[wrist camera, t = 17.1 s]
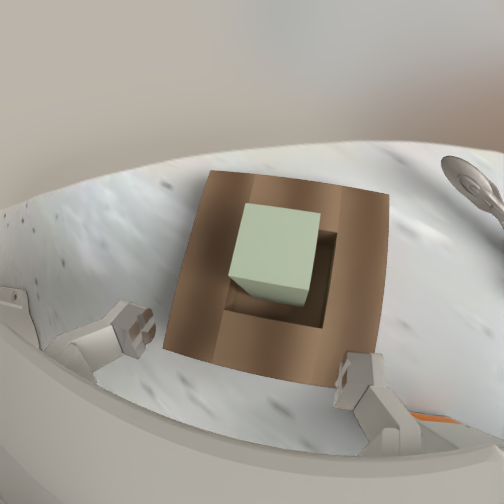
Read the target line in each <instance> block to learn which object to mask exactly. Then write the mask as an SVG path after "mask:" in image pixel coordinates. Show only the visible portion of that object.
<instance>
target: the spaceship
mask: <svg viewBox="0 0 504 504" xmlns="http://www.w3.org/2000/svg"><path fill="white" fill-rule="evenodd" d="M441 167H442V170H443V172H444V174H445V176H446V177H447V178H448V180H449V181H450V182H451V184H452V185H453V186H454V187H455V188H456V189H457V190H458V191H459V192H460V193H462V194H463V195H464V196H465V197H467V198H468V199H469V200H470V201H471V202H472V203H473V204H474V205H476V206H477V207H478V208H479V209H481V210H483V211H486V212H489V213H491V214H492V215H493V216H495V217H496V218H497V219H498V220H499V222H500V223H501V225H502V227H503V229H504V203H503V201H502V198H501V196H500V193H499V191H498V189H497V187H496V186H495V185H494V184H493V183H492V182H491V181H490V180H489V179H488V178H487V177H485V176H484V175H483V174H482V173H481V172H480V171H479V170H478V169H477V168H476V167H474V166H473V165H472V164H470V163H468V162H467V161H465V160H463V159H460V158H458V157H454V156H446V157H443V159H442V160H441Z"/></svg>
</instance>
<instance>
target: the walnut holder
mask: <svg viewBox="0 0 504 504" xmlns="http://www.w3.org/2000/svg"><path fill="white" fill-rule="evenodd" d="M246 203H250V204H258V205H265V206H273V207H280V208H287V209H294V210H301V211H308V212H314V213H321V215H320V222H319V229H318V237H317V243H316V250H315V257H314V263H313V269H312V275H311V281H310V287H309V291H308V295H307V298H306V301H305V304H304V307H298V306H292V305H287V304H281V303H276V302H270V301H265V300H260V299H255V298H253V297H252V296H251V295H250V294H249V293H247V292H246V291H245V290H244V289H243V288H242V287H241V286H239V285H238V284H237V283H236V282H235V281H234V280H233V279H232V278H230V277H229V276H228V275H229V270H230V266H231V262H232V258H233V253H234V249H235V245H236V241H237V237H238V232H239V228H240V224H241V220H242V216H243V212H244V208H245V204H246ZM388 233H389V195H388V194H384V193H379V192H373V191H368V190H363V189H357V188H352V187H346V186H340V185H334V184H328V183H321V182H315V181H308V180H301V179H293V178H285V177H277V176H268V175H259V174H249V173H238V172H226V171H213V170H210V173H209V176H208V179H207V182H206V185H205V188H204V192H203V195H202V198H201V201H200V204H199V208H198V211H197V214H196V218H195V221H194V225H193V228H192V231H191V235H190V238H189V242H188V246H187V249H186V253H185V257H184V260H183V264H182V268H181V272H180V275H179V279H178V283H177V287H176V291H175V295H174V299H173V304H172V308H171V312H170V316H169V321H168V325H167V330H166V334H165V339H164V344H163V349H166V350H169V351H172V352H175V353H178V354H181V355H184V356H188V357H191V358H194V359H198V360H201V361H205V362H208V363H212V364H215V365H219V366H223V367H227V368H231V369H235V370H239V371H243V372H247V373H251V374H256V375H260V376H265V377H270V378H275V379H280V380H285V381H290V382H296V383H302V384H308V385H314V386H321V387H328V388H336V386H335V377H336V372H337V369H338V366H339V364H340V363H341V362H343V354H344V352H345V351H346V350H350V351H359V352H368V353H374V352H375V347H376V341H377V336H378V330H379V323H380V317H381V310H382V303H383V295H384V286H385V276H386V265H387V252H388ZM336 389H337V388H336Z"/></svg>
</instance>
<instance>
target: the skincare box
mask: <svg viewBox="0 0 504 504" xmlns="http://www.w3.org/2000/svg"><path fill="white" fill-rule="evenodd" d="M409 413H410V414H411V415H412V417H413V418H414V419H415V421H416V422H417V423H418V424H419V426H420V429H421V442H422V454H432V453H440V452H447V451H454V450H460V449H465V448H471V447H475V446H480V445H484V444H495V445H496V446H497V447H498V448H499V449H500V450H501V451H502V452H503V454H504V441H503V440H501V439H498V438H496V437H493V436H491V435H489V434H486V433H484V432H482V431H479V430H477V429H475V428H472V427H470V426H468V425H465V424H463V423H461V422H459V421H457V420H455V419H453V418H450V417H448V416H436V415H427V414H420V413H415V412H409Z"/></svg>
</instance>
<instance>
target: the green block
mask: <svg viewBox="0 0 504 504" xmlns="http://www.w3.org/2000/svg"><path fill="white" fill-rule="evenodd" d="M320 215H321V213H314V212H308V211H301V210H294V209H287V208H280V207H273V206H265V205H258V204H250V203H246V204H245V208H244V212H243V216H242V220H241V224H240V228H239V232H238V237H237V241H236V245H235V249H234V253H233V258H232V262H231V266H230V270H229V275H228V276H229V277H230V278H232V279H233V280H234V281H235V282H236V283H237V284H238V285H239V286H241V287H242V288H243V289H244V290H245V291H246V292H247V293H249V294H250V295H251V296H252V297H253V298H255V299H260V300H265V301H270V302H276V303H281V304H287V305H292V306H298V307H304V304H305V301H306V298H307V295H308V291H309V287H310V281H311V275H312V269H313V263H314V257H315V250H316V243H317V237H318V229H319V222H320Z"/></svg>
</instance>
